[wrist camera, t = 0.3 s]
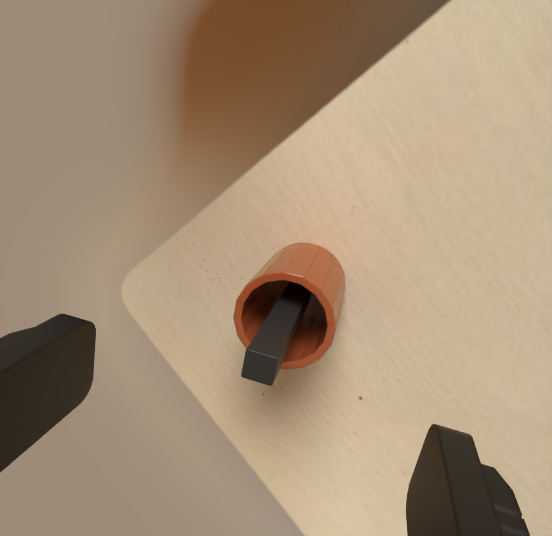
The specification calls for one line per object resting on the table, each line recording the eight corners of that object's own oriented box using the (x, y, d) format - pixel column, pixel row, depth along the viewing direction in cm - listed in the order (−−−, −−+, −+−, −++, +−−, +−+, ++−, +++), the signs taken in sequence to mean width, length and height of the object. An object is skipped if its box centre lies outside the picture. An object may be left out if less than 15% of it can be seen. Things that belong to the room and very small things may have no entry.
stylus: (295, 271, 33) (245, 348, 20) (315, 277, 32) (278, 358, 20) (291, 291, 33) (240, 377, 21) (311, 296, 33) (271, 386, 21)
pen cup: (273, 234, 33) (242, 261, 25) (353, 253, 32) (346, 288, 24) (259, 307, 35) (227, 352, 27) (334, 328, 34) (322, 380, 26)
